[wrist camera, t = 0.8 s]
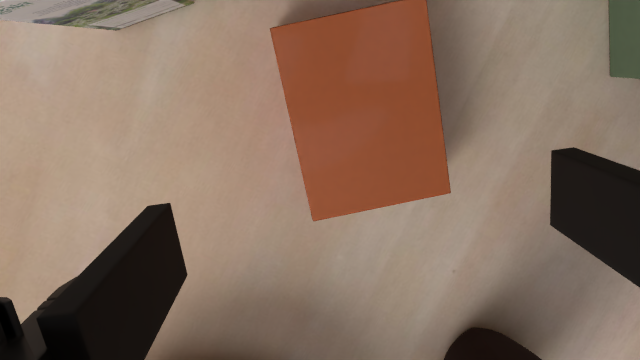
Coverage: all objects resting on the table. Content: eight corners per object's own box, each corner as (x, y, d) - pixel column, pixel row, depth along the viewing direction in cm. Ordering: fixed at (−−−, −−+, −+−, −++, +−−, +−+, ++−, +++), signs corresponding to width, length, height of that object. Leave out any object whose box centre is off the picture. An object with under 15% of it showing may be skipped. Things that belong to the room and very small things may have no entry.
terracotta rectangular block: (273, 31, 29) (269, 28, 25) (409, 2, 29) (425, -6, 25) (311, 202, 32) (313, 223, 28) (433, 177, 32) (451, 194, 28)
